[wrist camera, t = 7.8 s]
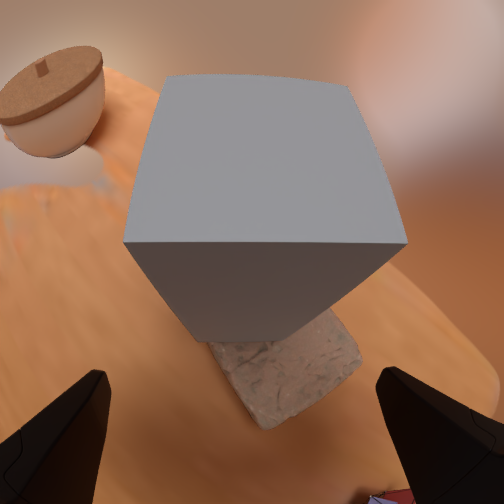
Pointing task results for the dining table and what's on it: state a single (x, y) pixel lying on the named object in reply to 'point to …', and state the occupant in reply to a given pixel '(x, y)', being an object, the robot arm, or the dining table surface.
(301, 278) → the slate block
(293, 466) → the dining table surface
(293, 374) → the brick
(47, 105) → the lidded bowl
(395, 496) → the geometric puzzle
